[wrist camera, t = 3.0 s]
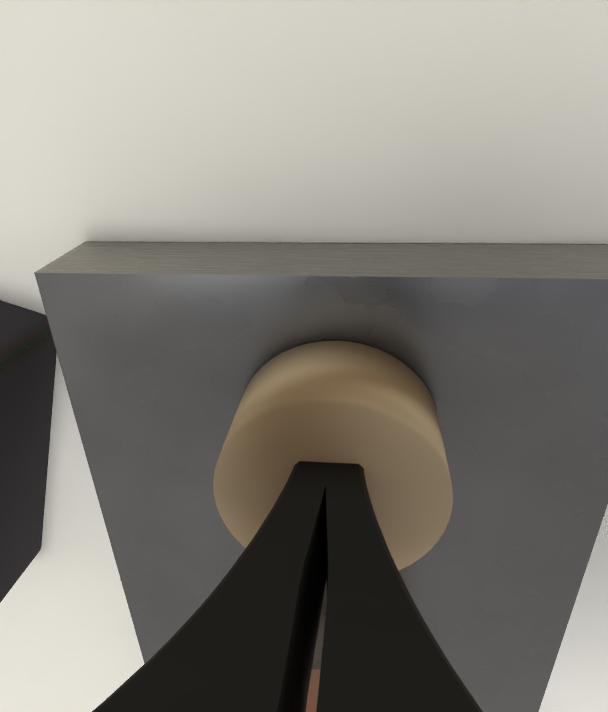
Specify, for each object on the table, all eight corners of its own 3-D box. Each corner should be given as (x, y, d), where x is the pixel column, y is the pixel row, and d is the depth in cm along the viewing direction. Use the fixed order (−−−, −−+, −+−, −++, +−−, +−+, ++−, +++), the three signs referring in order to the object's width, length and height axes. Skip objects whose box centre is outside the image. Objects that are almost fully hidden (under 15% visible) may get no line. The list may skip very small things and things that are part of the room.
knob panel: (628, 244, 13) (681, 280, 11) (483, 775, 25) (494, 842, 23) (85, 242, 14) (34, 272, 12) (199, 745, 27) (184, 805, 24)
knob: (448, 343, 12) (467, 406, 10) (429, 509, 14) (440, 589, 12) (229, 338, 12) (199, 396, 10) (246, 498, 15) (225, 574, 12)
